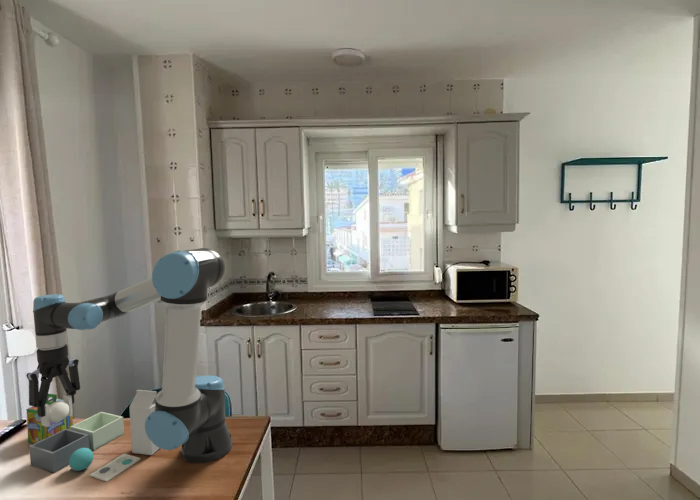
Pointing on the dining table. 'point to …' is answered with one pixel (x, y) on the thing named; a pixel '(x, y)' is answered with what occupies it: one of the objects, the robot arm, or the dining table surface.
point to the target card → (115, 467)
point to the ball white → (58, 411)
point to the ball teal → (81, 459)
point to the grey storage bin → (57, 450)
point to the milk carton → (142, 422)
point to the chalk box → (42, 432)
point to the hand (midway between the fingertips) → (57, 420)
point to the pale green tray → (100, 428)
